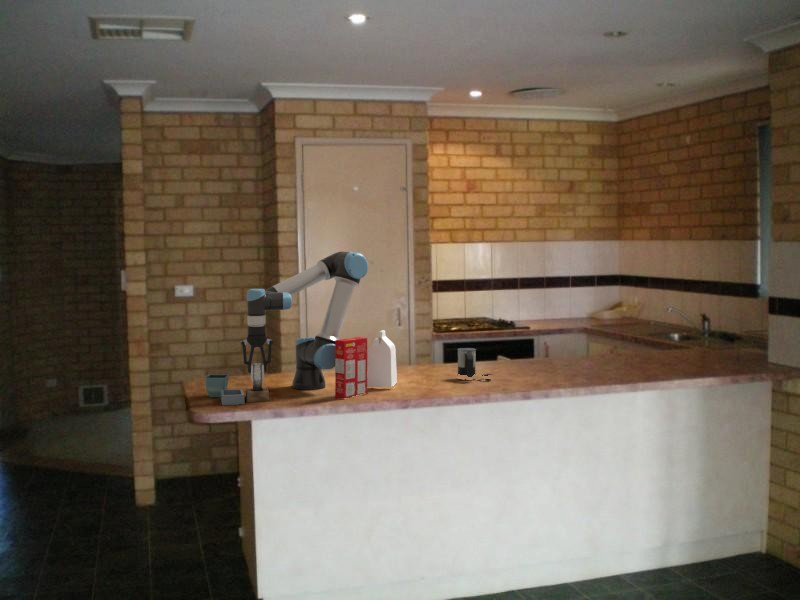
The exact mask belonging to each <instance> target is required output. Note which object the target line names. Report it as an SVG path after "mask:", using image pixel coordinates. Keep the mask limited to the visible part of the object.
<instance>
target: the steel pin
mask: <svg viewBox="0 0 800 600" xmlns="http://www.w3.org/2000/svg"><path fill="white" fill-rule="evenodd" d="M262 364H263V363H260V362H259V363H257V362H256V363H251V365H253V381H252V388H253V391H262V388H263V380H262Z"/></svg>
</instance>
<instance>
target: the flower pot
mask: <svg viewBox="0 0 800 600" xmlns="http://www.w3.org/2000/svg"><path fill="white" fill-rule="evenodd" d="M204 381H205V382H204V383H205V390H206V392H207V394H208V396H209V398H220V399H221V390H228V384H229V374H208V375H206V376H205V377H204Z"/></svg>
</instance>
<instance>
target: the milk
mask: <svg viewBox="0 0 800 600" xmlns="http://www.w3.org/2000/svg"><path fill="white" fill-rule="evenodd" d="M378 333H379V334H378V337H375V338H374V340H373V341H372V343H371V345H370V346H369V348H368V350H367V387H392V386H394V385H395V384H396V383H397V384H398V378H397V376H398V375H397V373H398V372H397V355H396V354H397V350H396V345H395V343H394V342H393V341H392V340H390V339H389V338H388V336H387V335H386V334H387V333H386V330H385V329H381V330H380V331H379V332H378Z"/></svg>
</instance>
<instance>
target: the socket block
mask: <svg viewBox="0 0 800 600" xmlns="http://www.w3.org/2000/svg"><path fill="white" fill-rule="evenodd" d="M269 393H270V392H269V389H268V388H267V387H262V391H253V387H252V388H251V387H249V388H245V399H246V402H247V403H248V402H249V403H250V402H252V403H253V402H269V401H270V395H269Z"/></svg>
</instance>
